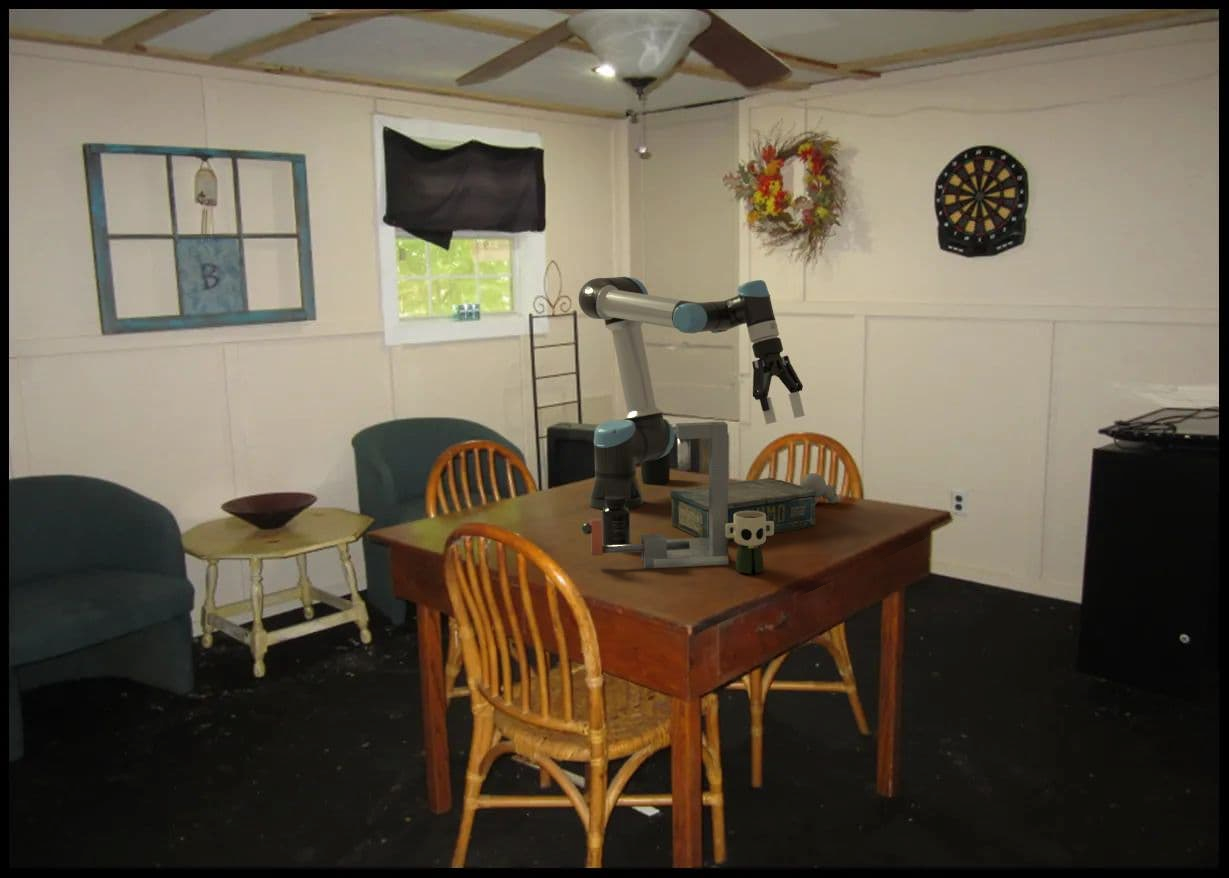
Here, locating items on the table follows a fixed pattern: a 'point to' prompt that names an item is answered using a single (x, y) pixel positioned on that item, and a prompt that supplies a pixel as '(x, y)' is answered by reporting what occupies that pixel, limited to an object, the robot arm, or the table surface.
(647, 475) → the pen holder
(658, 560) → the press
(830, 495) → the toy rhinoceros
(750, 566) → the character mug
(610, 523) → the supplement bottle
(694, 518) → the metal box
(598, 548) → the lever
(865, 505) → the table surface
